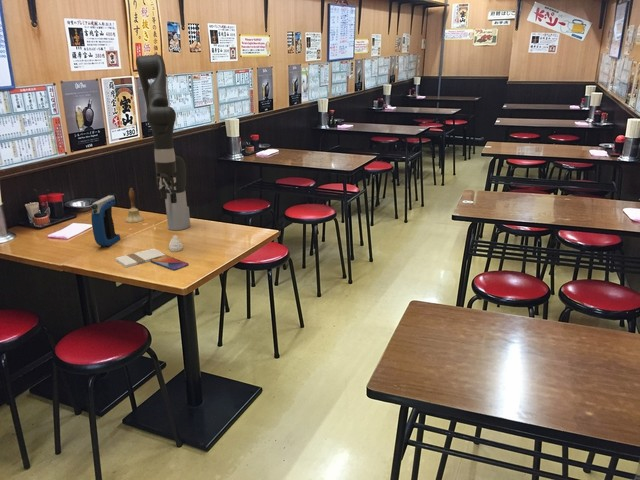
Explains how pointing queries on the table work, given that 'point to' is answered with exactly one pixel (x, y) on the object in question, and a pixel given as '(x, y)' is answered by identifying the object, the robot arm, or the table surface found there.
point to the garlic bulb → (175, 244)
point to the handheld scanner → (104, 221)
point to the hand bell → (133, 210)
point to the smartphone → (169, 262)
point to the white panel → (139, 257)
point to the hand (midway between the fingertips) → (168, 201)
